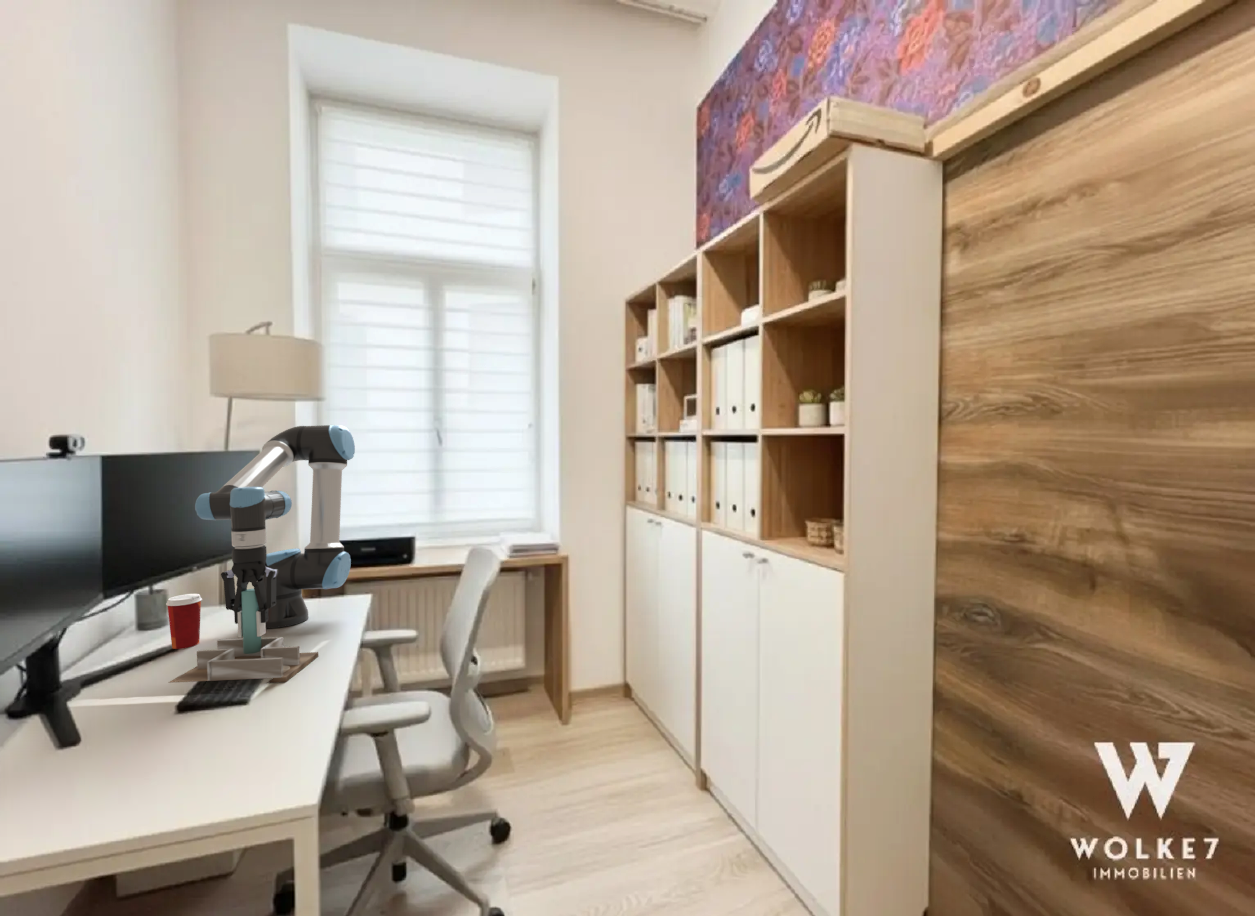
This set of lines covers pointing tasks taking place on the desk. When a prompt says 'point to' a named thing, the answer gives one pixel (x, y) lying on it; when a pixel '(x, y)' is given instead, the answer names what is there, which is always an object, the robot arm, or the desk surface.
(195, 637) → the coffee cup
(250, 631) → the teal dowel
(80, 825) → the desk surface
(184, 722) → the desk surface
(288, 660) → the slot board
